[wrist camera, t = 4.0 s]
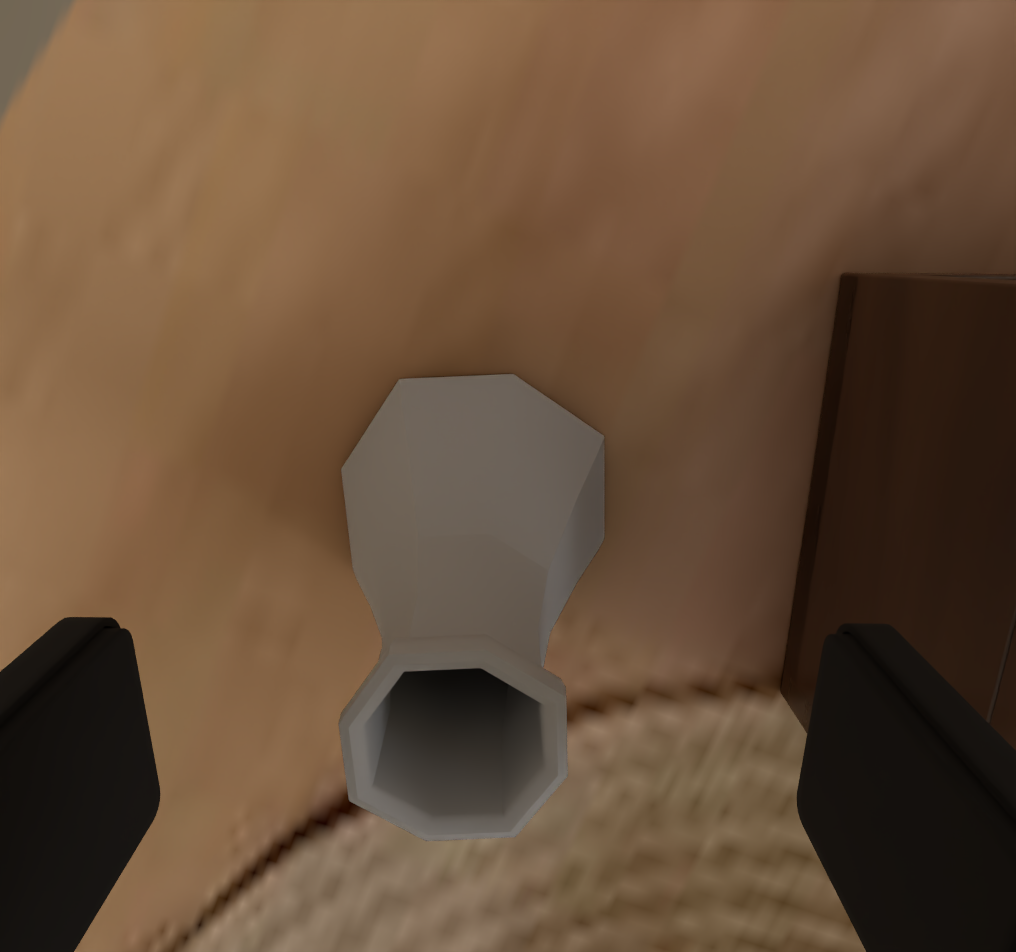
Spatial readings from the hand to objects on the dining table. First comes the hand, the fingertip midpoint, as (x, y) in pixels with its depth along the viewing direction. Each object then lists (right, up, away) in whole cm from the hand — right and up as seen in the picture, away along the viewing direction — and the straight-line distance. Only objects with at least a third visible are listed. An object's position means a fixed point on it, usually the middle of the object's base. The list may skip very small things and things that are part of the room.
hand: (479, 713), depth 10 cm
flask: (0, +3, +10) cm, 10 cm away
